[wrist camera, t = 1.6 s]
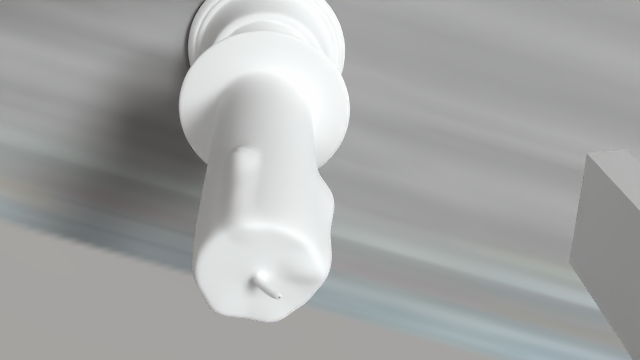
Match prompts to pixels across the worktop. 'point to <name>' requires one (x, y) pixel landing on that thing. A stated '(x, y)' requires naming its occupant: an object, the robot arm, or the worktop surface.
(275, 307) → the candle
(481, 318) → the worktop surface
